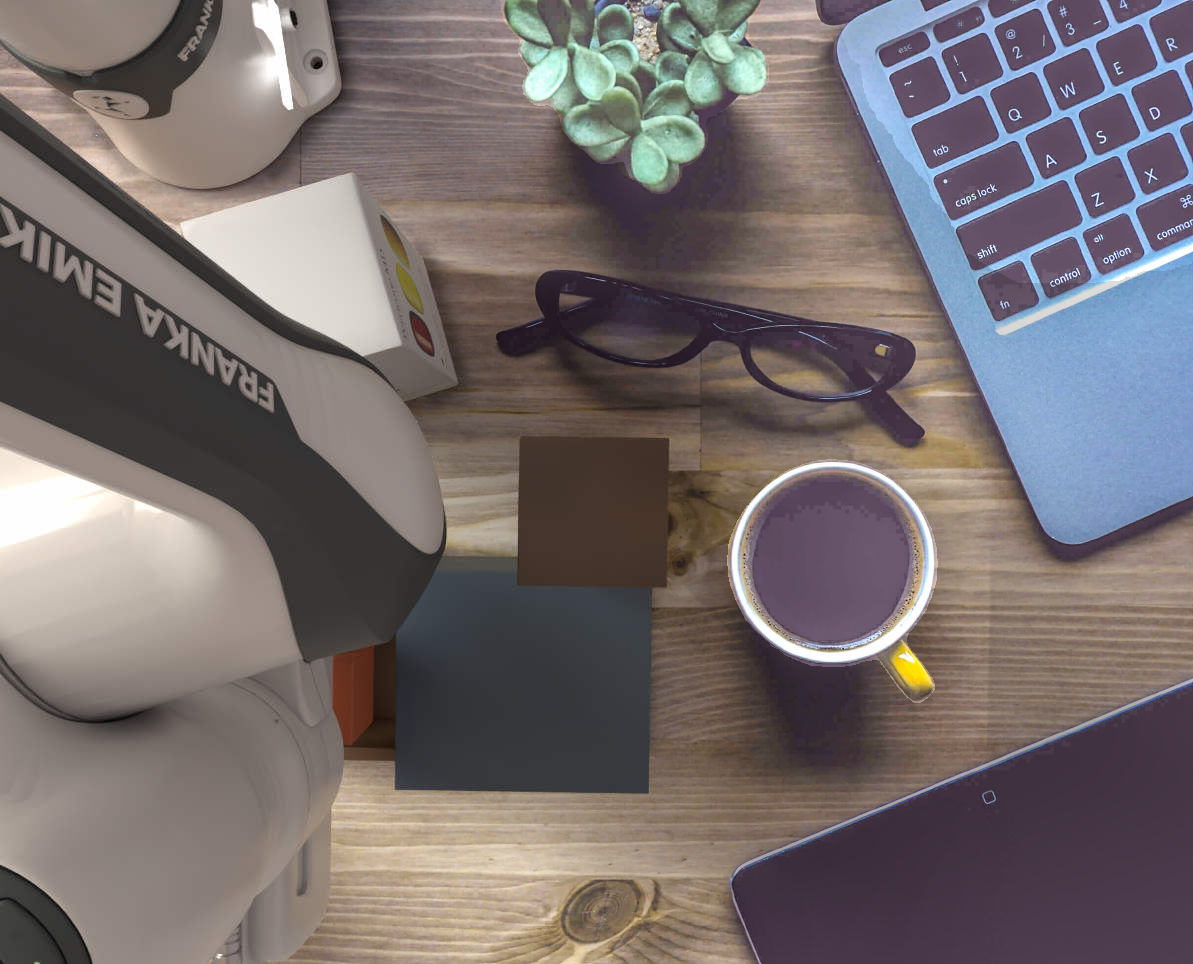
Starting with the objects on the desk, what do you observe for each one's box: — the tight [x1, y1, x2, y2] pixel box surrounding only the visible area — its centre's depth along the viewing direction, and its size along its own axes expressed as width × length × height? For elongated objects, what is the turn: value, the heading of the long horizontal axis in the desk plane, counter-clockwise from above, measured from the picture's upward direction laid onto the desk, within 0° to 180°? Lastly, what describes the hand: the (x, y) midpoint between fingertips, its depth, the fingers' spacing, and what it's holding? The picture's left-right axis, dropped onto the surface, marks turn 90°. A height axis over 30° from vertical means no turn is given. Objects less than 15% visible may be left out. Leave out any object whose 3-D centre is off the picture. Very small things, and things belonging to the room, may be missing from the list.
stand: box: [516, 435, 670, 589], centre depth 48 cm, size 6×6×25 cm
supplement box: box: [179, 171, 459, 403], centre depth 52 cm, size 10×9×17 cm
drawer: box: [343, 634, 396, 762], centre depth 56 cm, size 18×11×8 cm, turn 89°
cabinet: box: [394, 555, 653, 795], centre depth 56 cm, size 15×13×10 cm
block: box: [333, 646, 374, 745], centre depth 49 cm, size 4×4×4 cm
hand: (328, 687), depth 50 cm, fingers closed on block, 4 cm apart
